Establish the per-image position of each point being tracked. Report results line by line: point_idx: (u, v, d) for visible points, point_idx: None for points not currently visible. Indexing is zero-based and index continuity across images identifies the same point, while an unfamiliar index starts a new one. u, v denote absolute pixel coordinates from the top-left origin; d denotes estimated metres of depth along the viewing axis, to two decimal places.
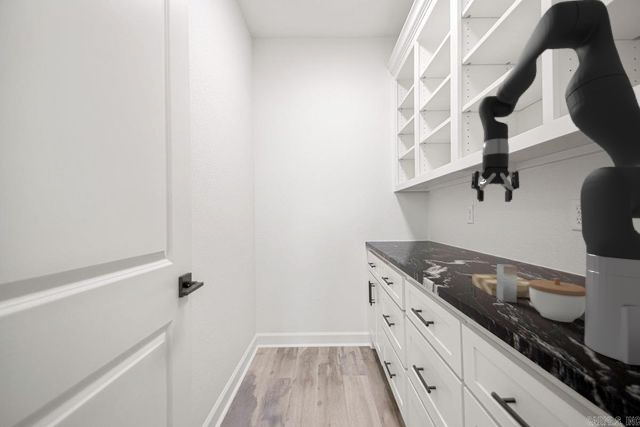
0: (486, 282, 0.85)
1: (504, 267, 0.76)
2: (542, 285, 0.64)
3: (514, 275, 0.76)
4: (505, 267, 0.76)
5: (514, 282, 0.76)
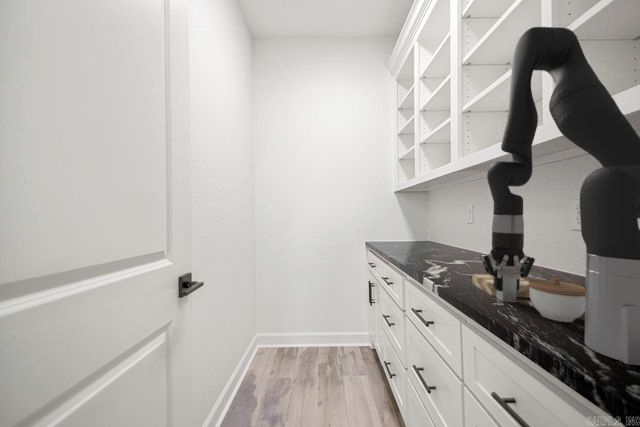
0: (486, 282, 0.85)
1: (504, 267, 0.76)
2: (542, 285, 0.64)
3: (514, 275, 0.76)
4: (505, 267, 0.76)
5: (514, 282, 0.76)
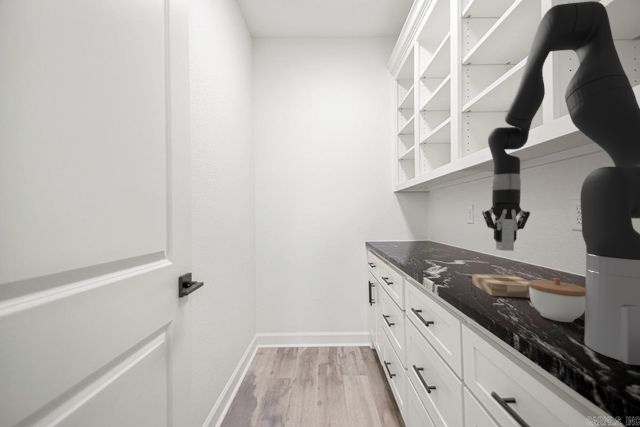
0: (486, 282, 0.85)
1: (503, 220, 0.86)
2: (542, 285, 0.64)
3: (511, 227, 0.86)
4: (504, 220, 0.86)
5: (511, 233, 0.86)
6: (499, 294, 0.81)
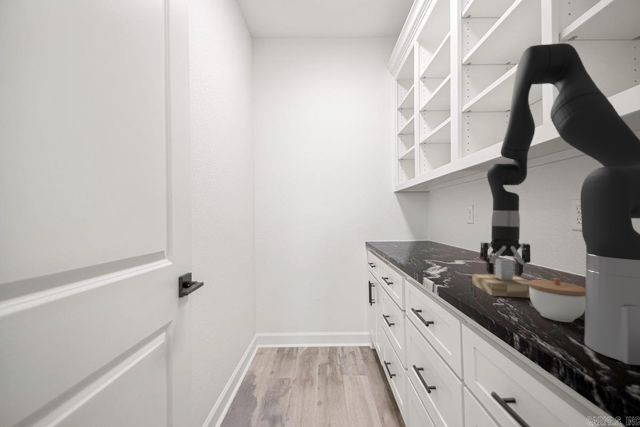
0: (486, 282, 0.85)
1: (502, 261, 0.86)
2: (542, 285, 0.64)
3: (510, 268, 0.86)
4: (503, 261, 0.86)
5: (510, 274, 0.86)
6: (499, 294, 0.81)
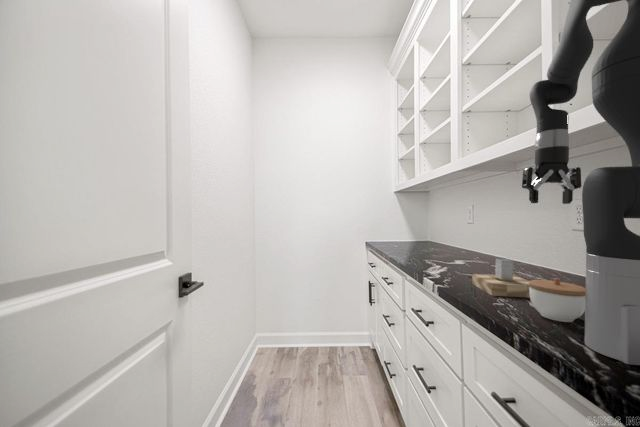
0: (486, 282, 0.85)
1: (502, 261, 0.86)
2: (542, 285, 0.64)
3: (510, 268, 0.86)
4: (503, 261, 0.86)
5: (510, 274, 0.86)
6: (499, 294, 0.81)
